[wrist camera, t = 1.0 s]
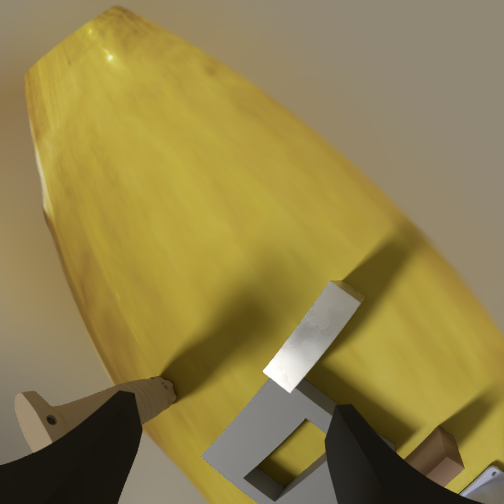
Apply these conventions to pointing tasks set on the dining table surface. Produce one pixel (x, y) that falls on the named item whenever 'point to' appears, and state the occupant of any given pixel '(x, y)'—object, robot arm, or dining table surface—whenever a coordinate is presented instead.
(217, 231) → the dining table surface
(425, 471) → the brown long flat block
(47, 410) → the handle
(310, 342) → the white wooden block
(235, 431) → the slotted grey plate
